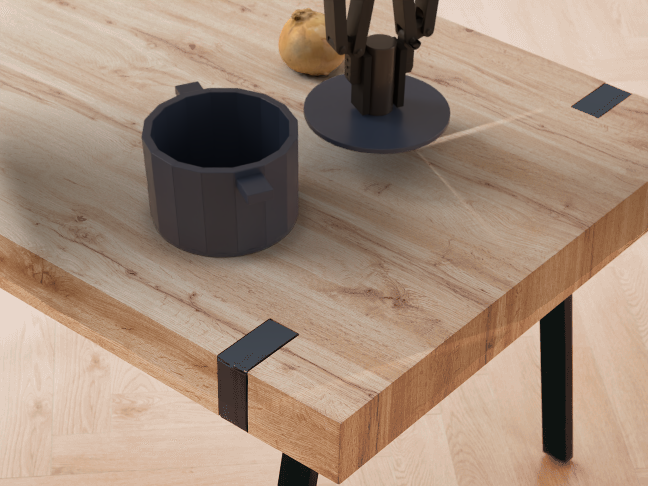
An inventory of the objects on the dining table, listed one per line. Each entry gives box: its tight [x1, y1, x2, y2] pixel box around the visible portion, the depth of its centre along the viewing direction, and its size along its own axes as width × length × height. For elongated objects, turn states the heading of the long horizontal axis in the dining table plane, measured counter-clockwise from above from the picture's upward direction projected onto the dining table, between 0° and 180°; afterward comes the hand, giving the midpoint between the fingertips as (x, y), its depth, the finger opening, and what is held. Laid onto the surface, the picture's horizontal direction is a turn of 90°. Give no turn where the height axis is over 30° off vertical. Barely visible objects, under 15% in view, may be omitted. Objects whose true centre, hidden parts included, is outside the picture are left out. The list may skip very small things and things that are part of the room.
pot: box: [141, 80, 299, 258], centre depth 101 cm, size 14×19×10 cm
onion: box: [277, 7, 345, 76], centre depth 123 cm, size 8×8×7 cm
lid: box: [303, 33, 451, 155], centre depth 108 cm, size 15×15×9 cm
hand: (377, 103), depth 109 cm, fingers closed on lid, 3 cm apart
